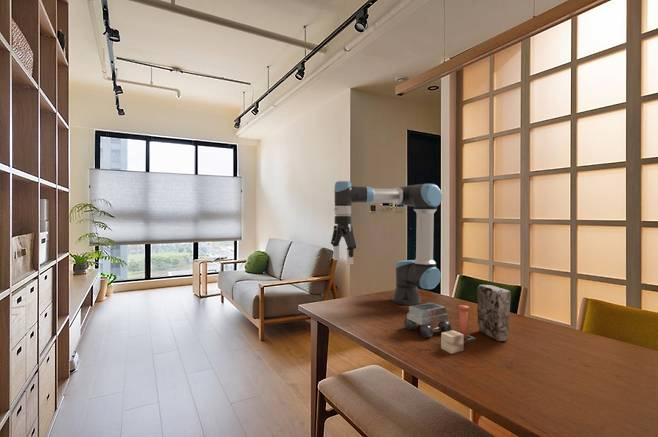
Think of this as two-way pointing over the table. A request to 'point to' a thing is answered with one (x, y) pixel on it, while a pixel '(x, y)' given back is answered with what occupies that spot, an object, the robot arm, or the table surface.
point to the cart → (427, 318)
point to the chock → (452, 341)
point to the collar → (469, 339)
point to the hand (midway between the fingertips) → (342, 262)
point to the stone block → (493, 311)
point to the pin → (463, 320)
